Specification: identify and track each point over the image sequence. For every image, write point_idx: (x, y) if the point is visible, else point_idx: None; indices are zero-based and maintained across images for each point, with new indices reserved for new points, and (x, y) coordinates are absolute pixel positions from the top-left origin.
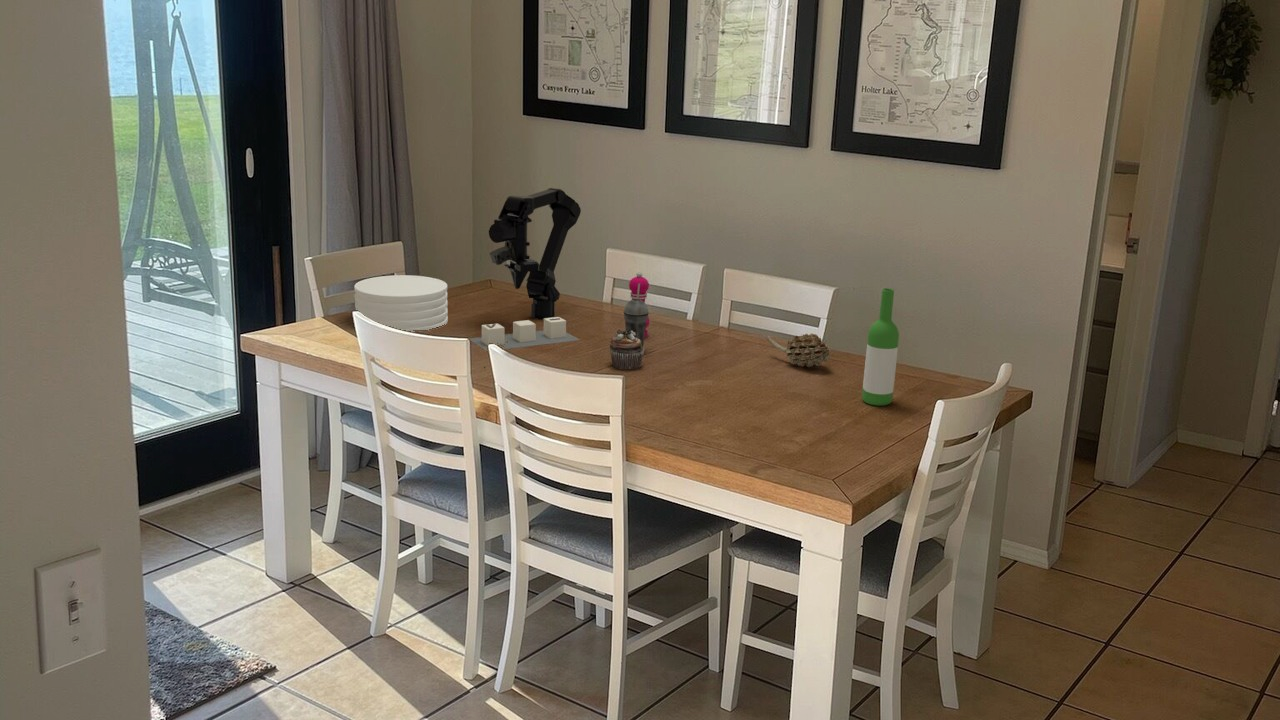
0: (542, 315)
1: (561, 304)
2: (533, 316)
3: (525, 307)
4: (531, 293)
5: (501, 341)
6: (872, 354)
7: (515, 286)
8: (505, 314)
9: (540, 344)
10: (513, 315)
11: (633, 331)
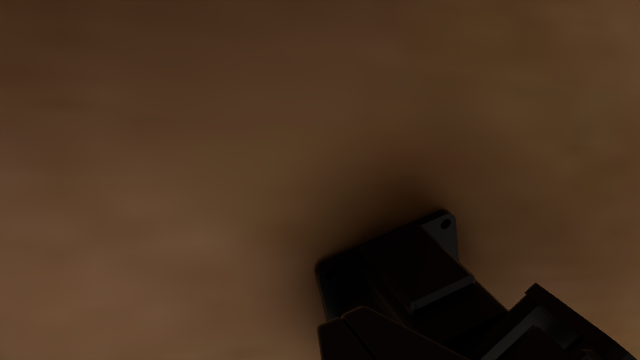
0: (352, 306)
1: None
2: (383, 238)
3: (636, 180)
4: (512, 346)
5: None
6: None
7: (350, 338)
8: (549, 32)
9: None
10: (507, 90)
11: None
